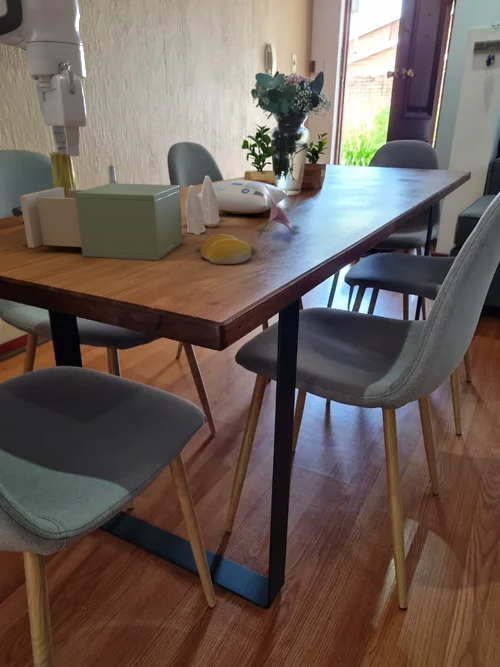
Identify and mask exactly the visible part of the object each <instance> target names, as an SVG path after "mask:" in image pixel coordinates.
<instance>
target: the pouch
mask: <svg viewBox="0 0 500 667" xmlns="http://www.w3.org/2000/svg"><path fill="white" fill-rule="evenodd" d="M264 184H265V185H264ZM213 187H214V190H215V192H216V195H217V200H218V211H219V212H221V213H226V214H235V215H256V214H261V213H264V212H266V211H267V210H269V209H271V204H272V203H271V199H272V196H273V198H274V201H275V204H276V205H277V204H279V203H280V202H283V200H285V199H286V198H287V197H288V196H289V194H288V193H287V192H285V191H284V190H283V189H281V188H280V187H277V186H275V185H272V184H270V183H265V182H261V181H254V180H247V179H231V180H226V181H223V182H220V183H216V184H213ZM266 187H267V188H268V189H267V188H266ZM268 190H269V191H270V193H271V194H270V193H269V191H268ZM197 195H198V197H199V199H200V202H201V191H200V192H199V193H197ZM268 195H269V196H270V198H271V199H270V198H269V196H268ZM271 195H272V196H271ZM272 201H273V199H272Z"/></svg>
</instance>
